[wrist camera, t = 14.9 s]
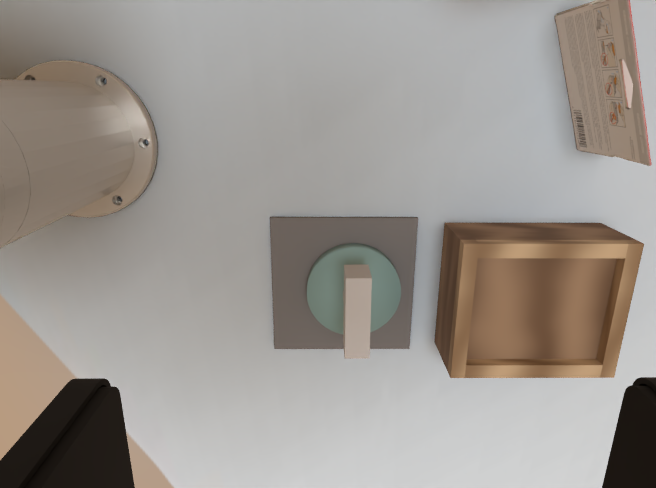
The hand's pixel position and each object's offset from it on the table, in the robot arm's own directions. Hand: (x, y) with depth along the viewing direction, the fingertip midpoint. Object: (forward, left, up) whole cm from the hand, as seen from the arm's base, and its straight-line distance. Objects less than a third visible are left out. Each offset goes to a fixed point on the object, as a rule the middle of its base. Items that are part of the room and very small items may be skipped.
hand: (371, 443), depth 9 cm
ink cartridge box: (+20, +7, -34) cm, 40 cm away
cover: (+2, -11, -33) cm, 35 cm away
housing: (+17, -11, -33) cm, 39 cm away
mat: (+1, -11, -33) cm, 35 cm away
